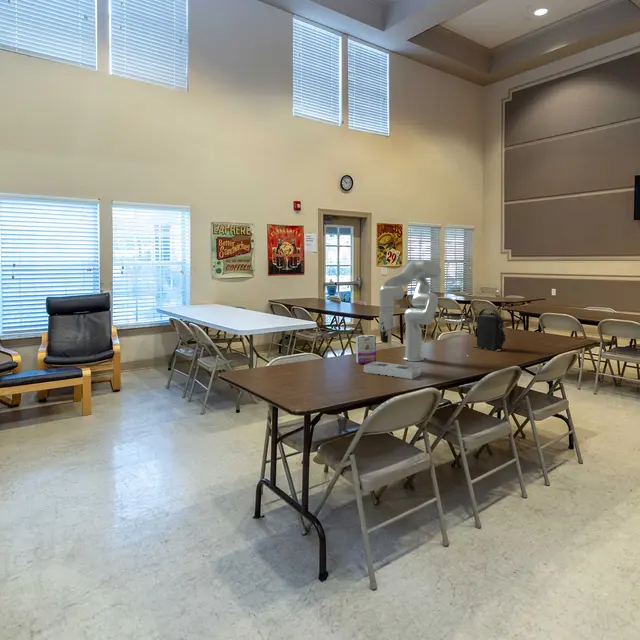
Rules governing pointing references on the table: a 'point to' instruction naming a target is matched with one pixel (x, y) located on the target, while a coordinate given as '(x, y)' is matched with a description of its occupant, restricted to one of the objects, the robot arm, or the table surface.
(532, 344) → the table surface
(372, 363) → the white holder tray
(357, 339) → the candy bar box
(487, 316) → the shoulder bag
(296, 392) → the table surface
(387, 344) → the peg
